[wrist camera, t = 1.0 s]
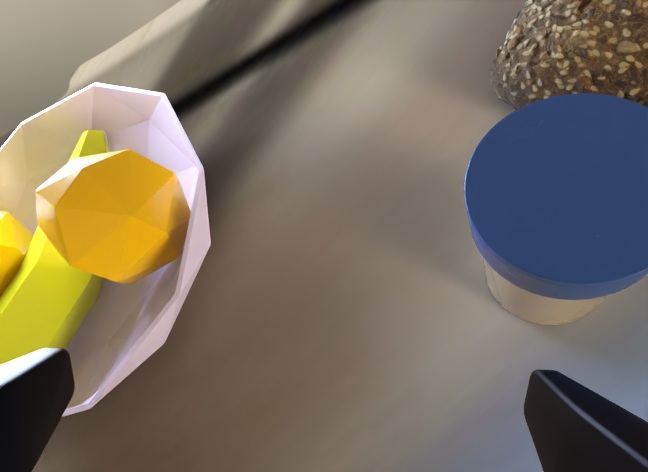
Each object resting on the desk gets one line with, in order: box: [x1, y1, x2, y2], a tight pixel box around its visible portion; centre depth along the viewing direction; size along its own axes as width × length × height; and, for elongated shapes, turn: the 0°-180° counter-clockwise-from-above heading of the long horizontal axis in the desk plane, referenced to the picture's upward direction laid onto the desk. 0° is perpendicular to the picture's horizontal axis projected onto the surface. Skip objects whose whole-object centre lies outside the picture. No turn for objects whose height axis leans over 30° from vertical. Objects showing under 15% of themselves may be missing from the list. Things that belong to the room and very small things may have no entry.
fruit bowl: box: [0, 82, 211, 417], centre depth 32 cm, size 28×27×11 cm
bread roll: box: [490, 0, 648, 110], centre depth 24 cm, size 13×12×5 cm
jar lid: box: [464, 93, 648, 300], centre depth 15 cm, size 7×7×3 cm
